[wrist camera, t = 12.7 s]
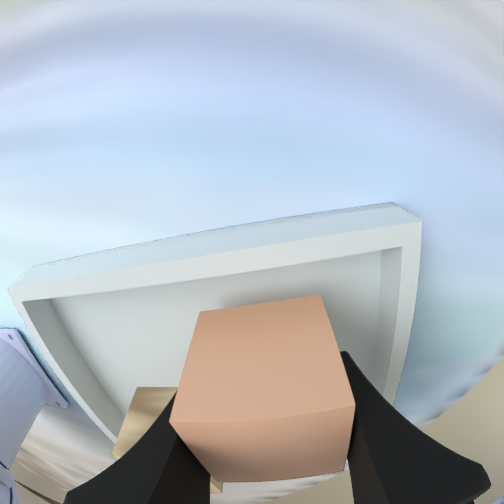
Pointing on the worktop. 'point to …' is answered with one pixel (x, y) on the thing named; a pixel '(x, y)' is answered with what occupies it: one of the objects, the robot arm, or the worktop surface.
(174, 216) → the worktop surface
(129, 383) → the grey tray
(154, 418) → the oak block
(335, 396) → the terracotta block
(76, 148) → the worktop surface
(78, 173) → the worktop surface
